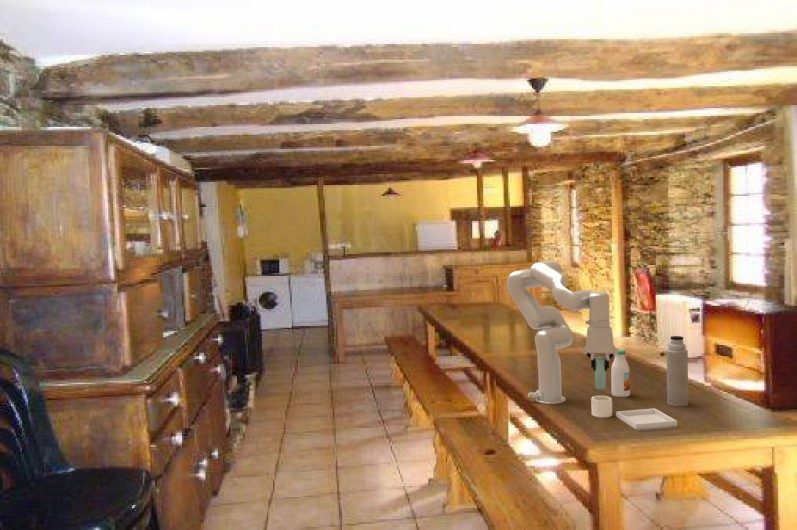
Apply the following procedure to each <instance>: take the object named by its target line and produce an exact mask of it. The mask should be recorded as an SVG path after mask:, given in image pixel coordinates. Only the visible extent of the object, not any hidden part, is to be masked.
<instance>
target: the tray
mask: <svg viewBox="0 0 797 530" xmlns="http://www.w3.org/2000/svg"><path fill="white" fill-rule="evenodd" d="M615 417H616V418H618V419H620V420H621V421H623V422H624V423H625V424H627V425H628V426H630V427H631V428H632V429H633V430H636V431H635V432H638V431H637V430H642V431H650V430H651V431H653V429H654V430H662V429H673V428H678V421H677V420H676V419H675V418H673V417H671V416H669V415H667V414H665V412H662V411H660V410H659V409H657V408H643V409H632V410H630V409H629V410H622V411H621V410H619V411H615Z"/></svg>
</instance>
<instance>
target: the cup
mask: <svg viewBox="0 0 797 530" xmlns="http://www.w3.org/2000/svg"><path fill="white" fill-rule="evenodd" d="M590 402H591V403H590V408H591V416H594V417H596V418H610V417H612V416H613V398H612V397H610V396H607V395H593V396H591V398H590Z"/></svg>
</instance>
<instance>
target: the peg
mask: <svg viewBox="0 0 797 530" xmlns="http://www.w3.org/2000/svg"><path fill="white" fill-rule="evenodd" d="M594 359H595V370H594V386H595V387H594V388H595V389H597V390H605V389H607V383H606V382H607V381H606V379H607V378H606V376H607V375H606V372H607V371H606V370H605V360H606V357H603V356H594Z"/></svg>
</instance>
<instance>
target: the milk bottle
mask: <svg viewBox="0 0 797 530" xmlns="http://www.w3.org/2000/svg"><path fill="white" fill-rule="evenodd" d="M616 349H617V348H616ZM617 350H618V352H619V353H618V354H617V355H615V356H614V360H613V362H612V364H611V368H610V369H611V371H610V379H611V380H610V381H611V385H610V386H611V387H610V388H611V396H613V397H616V398H626V397H627V398H628V397H630V396H631V374H630V373H631V371H630V366H629V364H628V362H627V359H626V353H627V352H626V350H625V349H621V348H618V349H617Z"/></svg>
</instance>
